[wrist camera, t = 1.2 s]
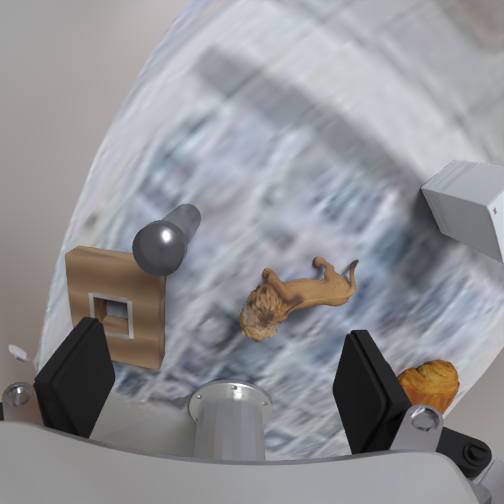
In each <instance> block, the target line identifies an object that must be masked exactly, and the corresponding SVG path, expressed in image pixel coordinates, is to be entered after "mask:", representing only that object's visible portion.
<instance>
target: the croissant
mask: <svg viewBox="0 0 504 504" xmlns="http://www.w3.org/2000/svg"><path fill="white" fill-rule="evenodd" d="M397 379H398V381H399V382H400V384H401V386H402V387H403V389H404V391H405V393H406V394H407V396H408V398H409V400H410V402H411V403H412V405H413V406H414V405H418V404H425V405H429V406H432V407H434V408H435V409H437V410H438V411H439V412H440V414H441V415H443V414H444V412H445V410H446V409H447V408H448V407H449V406H450V404H451V403H452V401H453V399H454V397H455V395H456V394H457V392H458V388H459V385H460V383H459V382H458V374H457V371H456V370H455V368H454V366H453V365H452V364H451V363H450V362H445V361H442V360H435V361H432V362H429V361H428V363H427V364H425V365H421V366H419V367H418V368H417V369H416V368H409V369H407V370H405V371H404V372H403V373H402V374H401V375H400V376H399V377H397Z"/></svg>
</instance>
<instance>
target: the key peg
mask: <svg viewBox="0 0 504 504" xmlns="http://www.w3.org/2000/svg"><path fill="white" fill-rule="evenodd" d="M200 221H201V216H200V213H199V211H198V209H197V208H196V207H194V206H193V205H190V204H182V205H180V206H178V207H177V208H176V209H174V210H173V211H172V212H171V213H169V214H168V215H167V216H166V217H164V218H163V219H162V220H159V221H154V222H151V223H149V224H148V225H147V226H145V227H144V228H143V229H141V230H140V231H139V232H138V233H137V235H136V236H135V238H134V241H133V246H132V251H133V256H134V259H135V261H136V263H137V264H138V266H139V267H140V268H141V269H142V270H144V271H145V272H146V273H148V274H151V275H154V276H166V275H169V274H171V273H173V272H174V271H176V270H177V269H178V267H179V266H180V264H181V263H182V261H183V259H184V257H185V255H186V251H187V243H188V241H189V240H190V238H191V237H192V235H193V234H194V232H195V231H196V229H197V227H198V226H199V224H200Z"/></svg>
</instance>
